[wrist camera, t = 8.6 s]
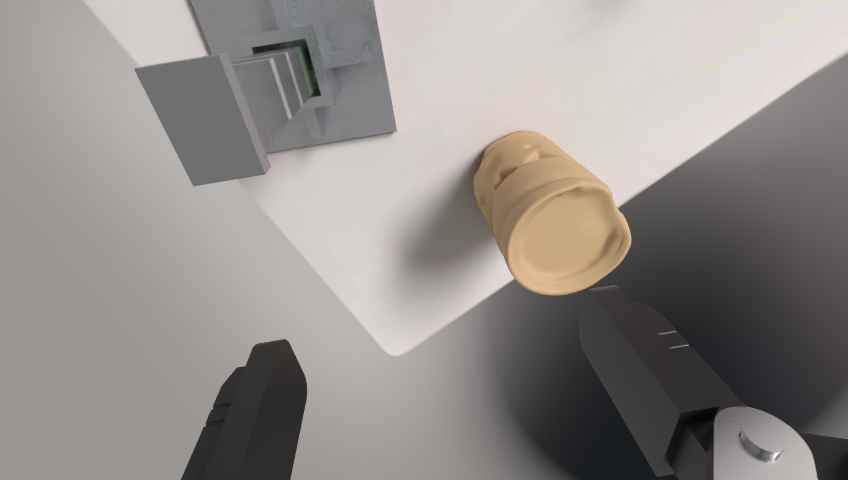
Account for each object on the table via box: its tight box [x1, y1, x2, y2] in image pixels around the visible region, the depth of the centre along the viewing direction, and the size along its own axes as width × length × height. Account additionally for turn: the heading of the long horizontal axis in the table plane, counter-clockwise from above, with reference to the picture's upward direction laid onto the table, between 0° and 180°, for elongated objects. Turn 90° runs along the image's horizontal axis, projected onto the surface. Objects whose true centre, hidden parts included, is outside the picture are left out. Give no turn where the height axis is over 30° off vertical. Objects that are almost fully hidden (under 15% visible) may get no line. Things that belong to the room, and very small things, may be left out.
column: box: [134, 45, 315, 186], centre depth 28 cm, size 6×4×20 cm, turn 8°
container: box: [473, 131, 631, 295], centre depth 44 cm, size 13×13×18 cm
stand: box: [190, 0, 397, 153], centre depth 38 cm, size 18×18×9 cm
